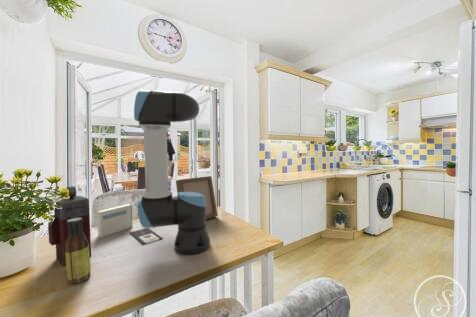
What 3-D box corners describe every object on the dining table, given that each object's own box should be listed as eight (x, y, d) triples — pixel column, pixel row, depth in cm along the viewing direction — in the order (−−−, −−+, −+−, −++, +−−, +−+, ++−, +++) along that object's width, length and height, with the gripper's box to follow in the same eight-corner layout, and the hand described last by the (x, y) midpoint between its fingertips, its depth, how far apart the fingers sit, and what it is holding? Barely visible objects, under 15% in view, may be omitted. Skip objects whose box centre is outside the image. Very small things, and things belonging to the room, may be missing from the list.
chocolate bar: (147, 227, 115) (162, 237, 102) (147, 229, 116) (162, 239, 102) (129, 232, 109) (142, 243, 96) (129, 234, 109) (142, 245, 96)
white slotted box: (101, 237, 105) (100, 212, 104) (98, 235, 106) (97, 211, 106) (132, 226, 119) (131, 204, 118) (128, 225, 120) (128, 204, 120)
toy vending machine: (48, 261, 83) (44, 187, 81) (83, 250, 92) (80, 183, 90) (55, 269, 77) (51, 190, 76) (91, 256, 86) (88, 186, 85)
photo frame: (217, 217, 133) (216, 176, 132) (185, 226, 118) (184, 180, 117) (204, 212, 144) (203, 174, 143) (173, 220, 129) (171, 178, 128)
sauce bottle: (95, 273, 74) (92, 216, 73) (82, 284, 68) (80, 222, 67) (75, 273, 74) (72, 216, 73) (61, 285, 68) (58, 222, 67)
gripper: (180, 130, 129) (181, 166, 130) (152, 132, 142) (153, 164, 143) (171, 129, 123) (172, 167, 124) (142, 131, 135) (143, 165, 136)
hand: (162, 165), depth 133 cm, fingers open, 13 cm apart
